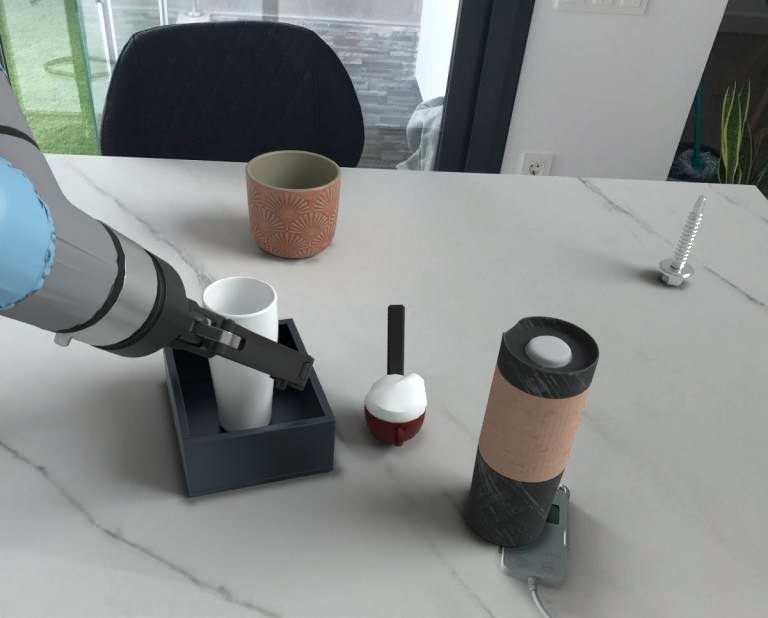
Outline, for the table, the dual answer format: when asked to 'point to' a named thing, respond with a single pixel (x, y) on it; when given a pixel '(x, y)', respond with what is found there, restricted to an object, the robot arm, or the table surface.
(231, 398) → the white cup
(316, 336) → the table surface
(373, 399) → the cocoa
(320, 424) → the dark storage bin
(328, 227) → the planter
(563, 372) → the travel mug
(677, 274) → the screw
